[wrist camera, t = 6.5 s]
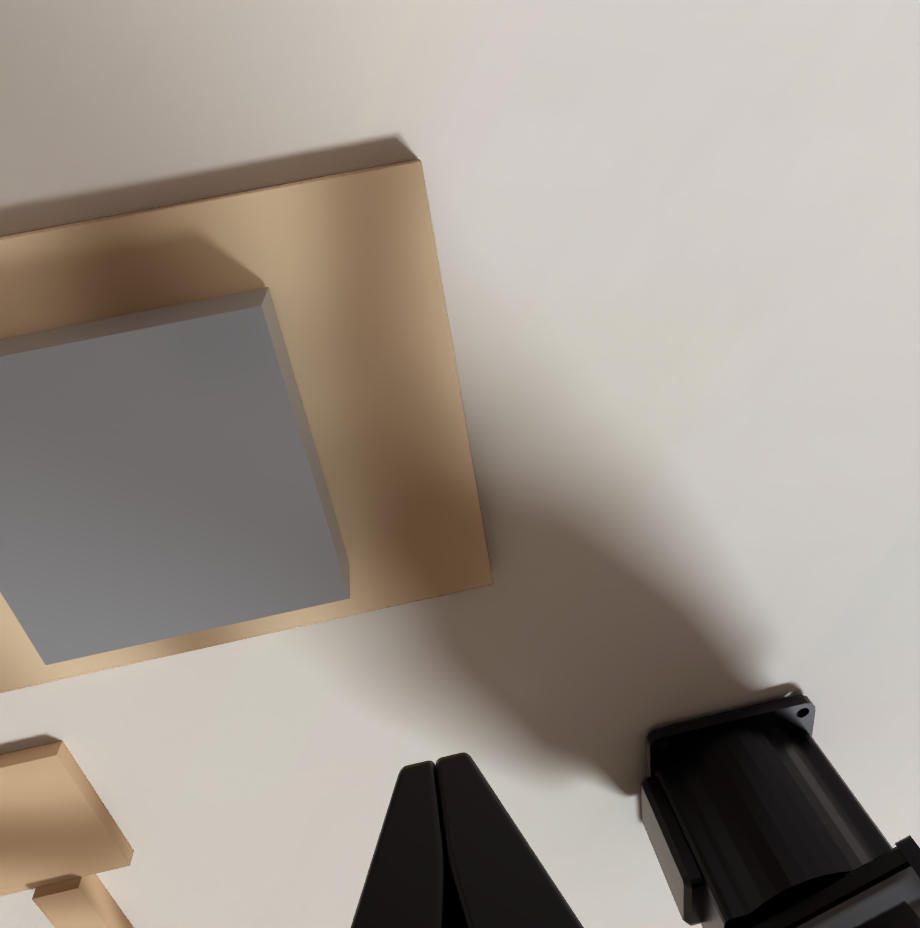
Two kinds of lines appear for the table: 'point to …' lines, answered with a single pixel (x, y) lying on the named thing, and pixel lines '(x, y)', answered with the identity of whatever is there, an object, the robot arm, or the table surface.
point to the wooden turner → (58, 838)
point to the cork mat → (295, 369)
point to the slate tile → (159, 479)
